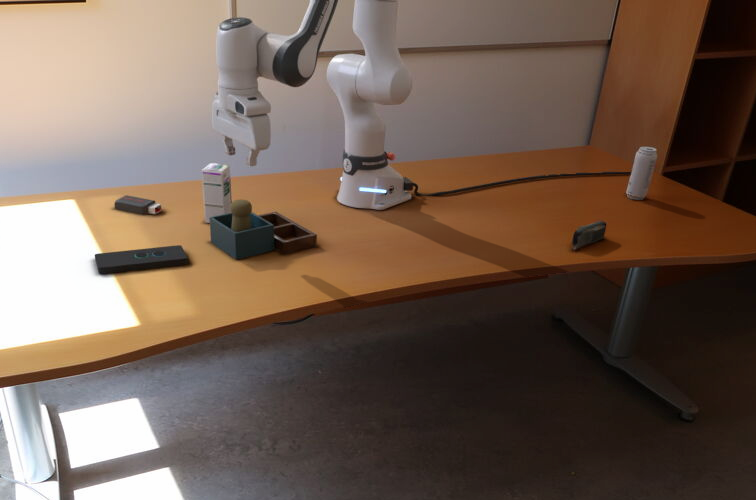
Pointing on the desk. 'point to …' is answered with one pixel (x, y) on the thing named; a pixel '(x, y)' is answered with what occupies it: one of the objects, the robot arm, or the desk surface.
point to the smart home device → (140, 259)
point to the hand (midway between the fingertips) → (241, 159)
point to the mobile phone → (588, 234)
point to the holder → (289, 234)
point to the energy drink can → (641, 173)
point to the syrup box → (216, 190)
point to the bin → (242, 236)
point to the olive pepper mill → (241, 215)
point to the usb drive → (137, 205)
